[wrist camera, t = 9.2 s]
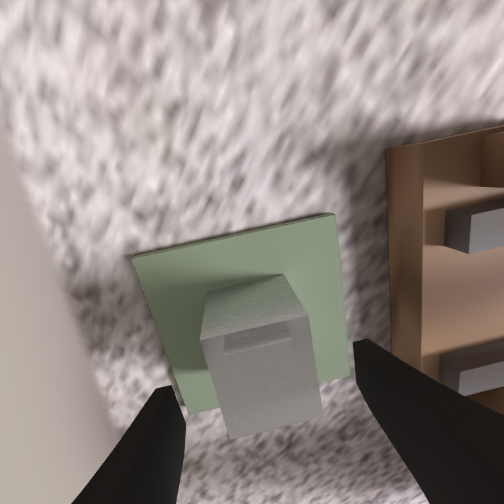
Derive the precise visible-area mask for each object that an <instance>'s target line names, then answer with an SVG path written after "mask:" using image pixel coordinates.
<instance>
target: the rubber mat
mask: <svg viewBox="0 0 504 504" xmlns="http://www.w3.org/2000/svg"><path fill="white" fill-rule="evenodd" d="M132 262H133V265H134V267H135V270H136V273H137V276H138V278H139V281H140V284H141V286H142V289H143V292H144V295H145V297H146V300H147V303H148V305H149V308H150V311H151V314H152V316H153V319H154V322H155V324H156V327H157V330H158V333H159V335H160V338H161V341H162V343H163V346H164V349H165V352H166V354H167V357H168V360H169V362H170V365H171V368H172V371H173V373H174V376H175V379H176V381H177V384H178V387H179V390H180V392H181V395H182V398H183V400H184V403H185V406H186V409H187V411H188V414H189V415H191V414H195V413H199V412H203V411H207V410H211V409H215V408H219V407H220V404H219V401H218V398H217V395H216V391H215V388H214V385H213V382H212V379H211V375H210V372H209V369H208V366H207V363H206V359H205V356H204V353H203V350H202V347H201V343H200V335H201V328H202V322H203V315H204V309H205V302H206V296H207V291H210V290H214V289H219V288H223V287H228V286H232V285H237V284H241V283H246V282H250V281H254V280H259V279H263V278H268V277H272V276H277V275H281V274H284V275H285V276H286V278H287V280H288V282H289V283H290V285H291V287H292V288H293V290H294V292H295V293H296V295H297V297H298V298H299V300H300V302H301V304H302V305H303V307H304V309H305V310H306V312H307V314H308V316H309V323H310V330H311V336H312V343H313V350H314V357H315V364H316V370H317V377H318V383H322V382H326V381H330V380H334V379H338V378H343V377H347V376H351V371H350V360H349V350H348V339H347V329H346V318H345V308H344V297H343V287H342V276H341V266H340V256H339V245H338V235H337V224H336V215H335V214H332V213H328V214H323V215H319V216H314V217H310V218H305V219H300V220H296V221H291V222H287V223H282V224H277V225H273V226H268V227H264V228H259V229H254V230H250V231H245V232H241V233H236V234H231V235H227V236H222V237H218V238H213V239H209V240H204V241H199V242H195V243H190V244H186V245H181V246H176V247H172V248H167V249H163V250H158V251H153V252H149V253H144V254H140V255H136V256H134V257H133V258H132Z"/></svg>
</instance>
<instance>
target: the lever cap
mask: <svg viewBox="0 0 504 504" xmlns="http://www.w3.org/2000/svg"><path fill="white" fill-rule="evenodd" d="M200 343H201V347H202V350H203V353H204V356H205V359H206V363H207V366H208V369H209V372H210V375H211V379H212V382H213V385H214V388H215V391H216V395H217V398H218V401H219V404H220V408H221V411H222V414H223V417H224V420H225V424H226V427H227V430H228V433H229V436H230V440H231V439H235V438H239V437H243V436H247V435H251V434H255V433H259V432H263V431H267V430H271V429H275V428H279V427H283V426H287V425H291V424H295V423H299V422H303V421H307V420H311V419H315V418H319V417H323V411H322V405H321V398H320V391H319V384H318V377H317V370H316V364H315V357H314V350H313V343H312V336H311V330H310V323H309V316H308V314H307V312H306V310H305V309H304V307H303V305H302V304H301V302H300V300H299V298H298V297H297V295H296V293H295V292H294V290H293V288H292V287H291V285H290V283H289V282H288V280H287V278H286V276H285V275H284V274H281V275H277V276H272V277H268V278H263V279H259V280H254V281H250V282H246V283H241V284H237V285H232V286H228V287H223V288H219V289H214V290H210V291H207V296H206V302H205V309H204V315H203V322H202V328H201V335H200Z"/></svg>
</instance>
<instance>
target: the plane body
mask: <svg viewBox="0 0 504 504" xmlns="http://www.w3.org/2000/svg"><path fill="white" fill-rule="evenodd" d="M385 152H386V184H387V216H388V248H389V280H390V312H391V344H392V354H393V355H394V356H396V357H397V358H399V359H401V360H402V361H404V362H405V363H407V364H409V365H410V366H412V367H414V368H415V369H417V370H419V371H420V372H422V373H424V374H425V375H427V376H429V377H431V378H432V379H434V380H436V381H438V382H439V383H441V384H443V385H445V386H447V387H449V388H450V389H452V390H454V391H456V392H458V393H460V394H461V395H463V396H465V397H467V398H469V399H471V400H473V401H475V402H477V403H479V404H481V405H483V406H486V407H488V408H490V409H492V410H494V411H496V412H498V413H500V414H502V415H504V124H503V125H498V126H494V127H489V128H484V129H479V130H475V131H470V132H465V133H460V134H455V135H451V136H446V137H441V138H436V139H432V140H427V141H422V142H417V143H413V144H408V145H403V146H398V147H394V148H389V149H385Z"/></svg>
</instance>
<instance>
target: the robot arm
mask: <svg viewBox="0 0 504 504" xmlns="http://www.w3.org/2000/svg"><path fill="white" fill-rule="evenodd" d="M353 350H354V361H355V372H356V383H357V385H358V387H359V389H360V391H361V393H362V395H363V397H364V399H365V401H366V403H367V405H368V407H369V408H370V410H371V412H372V413H373V415H374V417H375V418H376V420H377V421H378V423H379V424H380V426H381V427H382V429H383V430H384V432H385V434H386V435H387V437H388V438H389V440H390V441H391V443H392V444H393V446H394V447H395V449H396V450H397V452H398V453H399V455H400V456H401V458H402V459H403V461H404V463H405V464H406V466H407V467H408V469H409V470H410V472H411V473H412V475H413V476H414V478H415V480H416V481H417V483H418V484H419V486H420V488H421V489H422V491H423V493H424V494H425V496H426V498H427V500H428V502H429V503H430V504H504V415H502V414H500V413H498V412H496V411H494V410H492V409H490V408H488V407H486V406H483V405H481V404H479V403H477V402H475V401H473V400H471V399H469V398H467V397H465V396H463V395H461V394H460V393H458V392H456V391H454V390H452V389H450V388H449V387H447V386H445V385H443V384H441V383H439V382H438V381H436V380H434V379H432V378H431V377H429V376H427V375H425V374H424V373H422V372H420V371H419V370H417V369H415V368H414V367H412V366H410V365H409V364H407V363H405V362H404V361H402V360H401V359H399V358H397V357H396V356H394V355H393V354H391V353H390V352H388V351H386V350H385V349H383V348H382V347H380V346H379V345H377V344H375V343H374V342H372V341H371V340H369V339H364V340H360V341H356V342H353ZM185 436H186V422H185V420H184V417H183V414H182V412H181V409H180V406H179V404H178V401H177V399H176V396H175V393H174V391H173V388H172V385H170V386H165V387H161V388H157V389H155V391H154V392H153V393H152V395H151V396H150V398H149V399H148V401H147V402H146V403H145V405H144V406H143V408H142V409H141V411H140V412H139V414H138V415H137V417H136V418H135V420H134V421H133V422H132V424H131V425H130V427H129V428H128V430H127V431H126V432H125V434H124V435H123V437H122V438H121V440H120V441H119V442H118V444H117V445H116V447H115V448H114V449H113V451H112V452H111V453H110V455H109V456H108V457H107V459H106V460H105V462H104V463H103V464H102V465H101V467H100V468H99V469H98V471H97V472H96V473H95V475H94V476H93V477H92V479H91V480H90V481H89V483H88V484H87V485H86V486H85V488H84V489H83V490H82V491H81V493H80V494H79V495H78V496H77V497H76V499H75V500H74V501H73V502H72V504H176V500H177V494H178V489H179V483H180V477H181V471H182V465H183V459H184V450H185Z"/></svg>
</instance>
